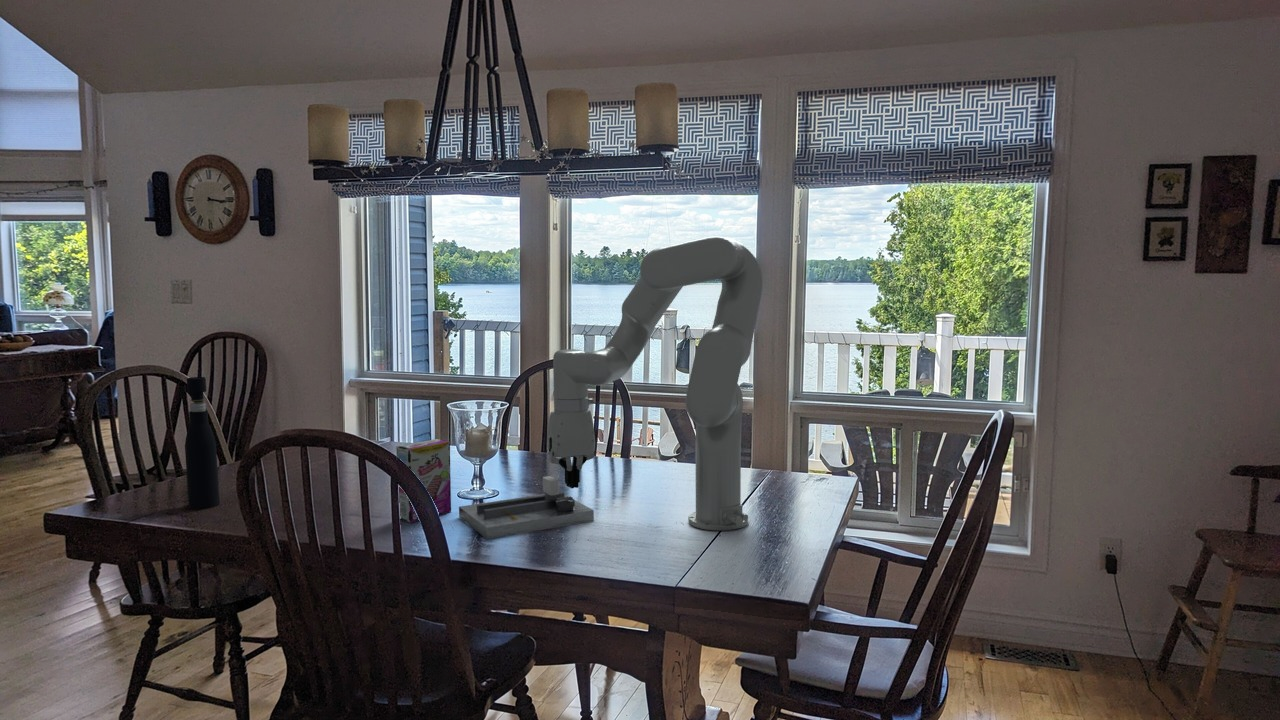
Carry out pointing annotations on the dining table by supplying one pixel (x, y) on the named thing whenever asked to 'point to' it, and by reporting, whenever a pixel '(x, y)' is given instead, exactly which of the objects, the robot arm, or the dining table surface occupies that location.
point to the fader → (550, 487)
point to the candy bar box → (427, 474)
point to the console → (524, 515)
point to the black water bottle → (200, 451)
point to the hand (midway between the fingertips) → (572, 486)
